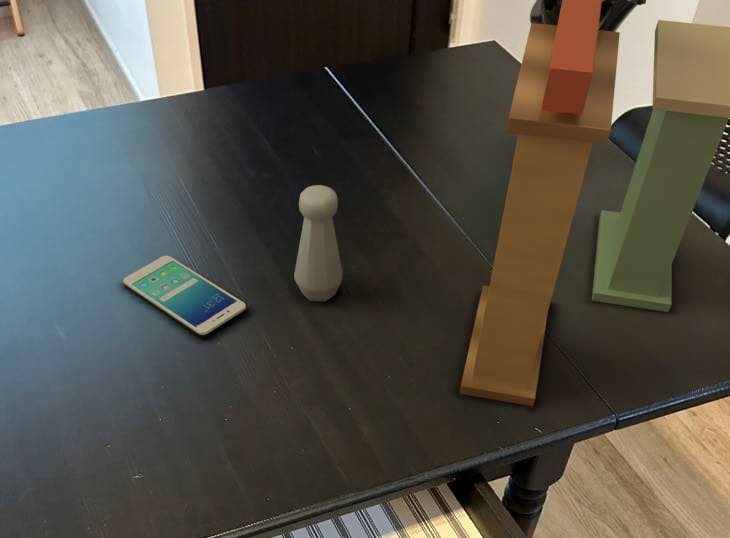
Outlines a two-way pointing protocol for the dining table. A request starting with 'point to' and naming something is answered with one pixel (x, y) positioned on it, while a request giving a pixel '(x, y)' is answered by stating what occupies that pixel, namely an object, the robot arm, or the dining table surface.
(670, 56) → the green pedestal column
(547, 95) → the bar
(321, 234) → the salt shaker
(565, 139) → the tall wooden pedestal
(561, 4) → the robot arm
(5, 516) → the dining table surface
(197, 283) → the smartphone
